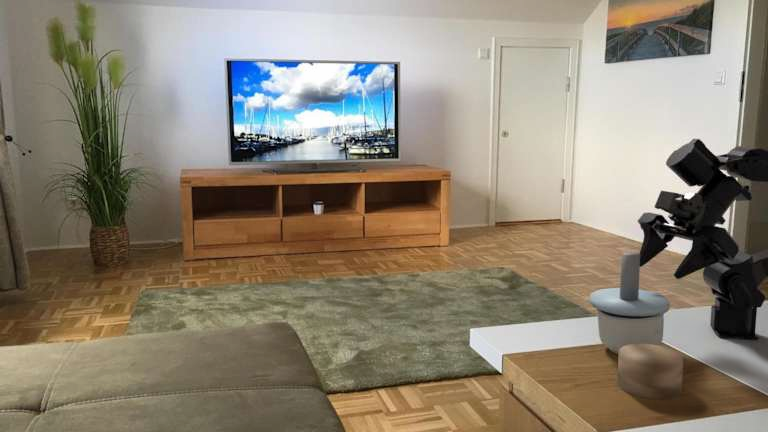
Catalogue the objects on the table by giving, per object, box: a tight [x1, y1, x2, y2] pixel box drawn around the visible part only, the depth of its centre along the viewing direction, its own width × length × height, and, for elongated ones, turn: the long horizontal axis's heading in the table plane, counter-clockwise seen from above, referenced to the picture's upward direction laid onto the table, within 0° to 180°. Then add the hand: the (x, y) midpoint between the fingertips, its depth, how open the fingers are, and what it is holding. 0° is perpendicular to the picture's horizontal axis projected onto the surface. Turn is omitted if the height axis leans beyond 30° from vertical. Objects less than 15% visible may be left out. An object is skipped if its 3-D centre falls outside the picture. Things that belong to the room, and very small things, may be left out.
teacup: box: [596, 308, 665, 356], centre depth 112 cm, size 14×11×8 cm
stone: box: [617, 344, 684, 400], centre depth 97 cm, size 9×9×5 cm
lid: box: [589, 251, 671, 316], centre depth 110 cm, size 13×13×9 cm
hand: (656, 271), depth 112 cm, fingers open, 9 cm apart
